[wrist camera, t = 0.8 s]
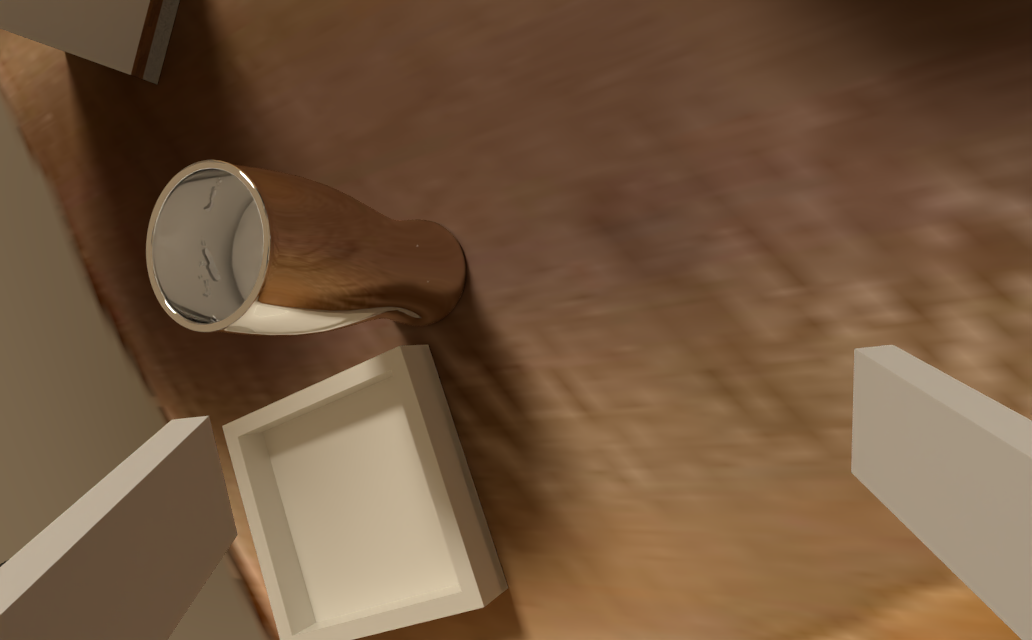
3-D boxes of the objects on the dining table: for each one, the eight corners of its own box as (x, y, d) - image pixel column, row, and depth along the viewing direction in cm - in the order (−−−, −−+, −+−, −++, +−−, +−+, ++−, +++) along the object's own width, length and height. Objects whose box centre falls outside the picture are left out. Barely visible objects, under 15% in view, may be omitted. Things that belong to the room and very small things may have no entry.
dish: (256, 420, 45) (222, 426, 42) (428, 344, 39) (399, 346, 37) (317, 636, 43) (284, 656, 40) (508, 588, 37) (484, 607, 35)
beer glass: (401, 355, 40) (178, 370, 27) (353, 253, 42) (120, 218, 28) (494, 294, 38) (300, 277, 24) (440, 189, 39) (229, 116, 26)
